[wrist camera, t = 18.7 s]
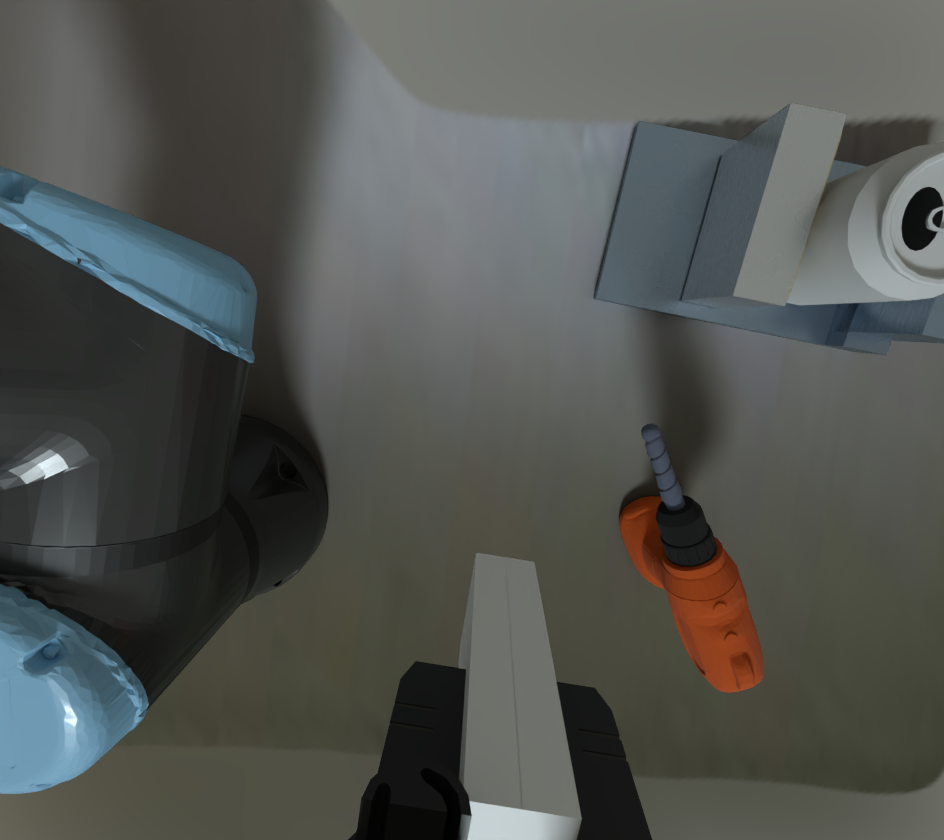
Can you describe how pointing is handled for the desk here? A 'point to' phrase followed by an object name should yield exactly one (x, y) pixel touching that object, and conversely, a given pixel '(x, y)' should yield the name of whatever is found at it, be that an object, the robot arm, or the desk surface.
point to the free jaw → (764, 210)
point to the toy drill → (693, 577)
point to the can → (878, 234)
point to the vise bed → (675, 239)
